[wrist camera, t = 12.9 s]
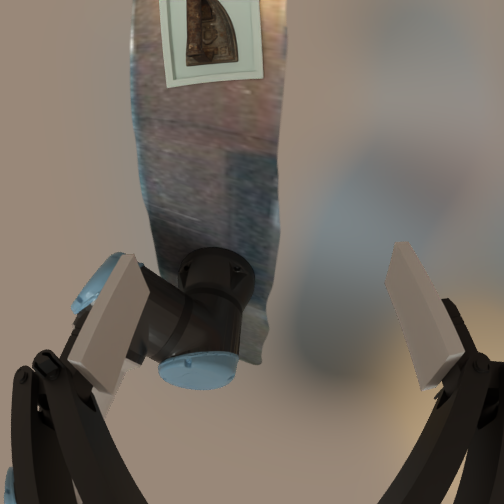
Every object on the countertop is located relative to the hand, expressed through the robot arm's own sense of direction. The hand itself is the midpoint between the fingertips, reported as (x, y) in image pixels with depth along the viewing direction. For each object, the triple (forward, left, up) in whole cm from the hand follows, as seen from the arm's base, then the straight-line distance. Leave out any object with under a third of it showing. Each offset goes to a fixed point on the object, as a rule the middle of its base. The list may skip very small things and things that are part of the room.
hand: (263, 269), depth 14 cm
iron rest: (+16, +7, -31) cm, 35 cm away
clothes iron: (+15, +7, -30) cm, 34 cm away
